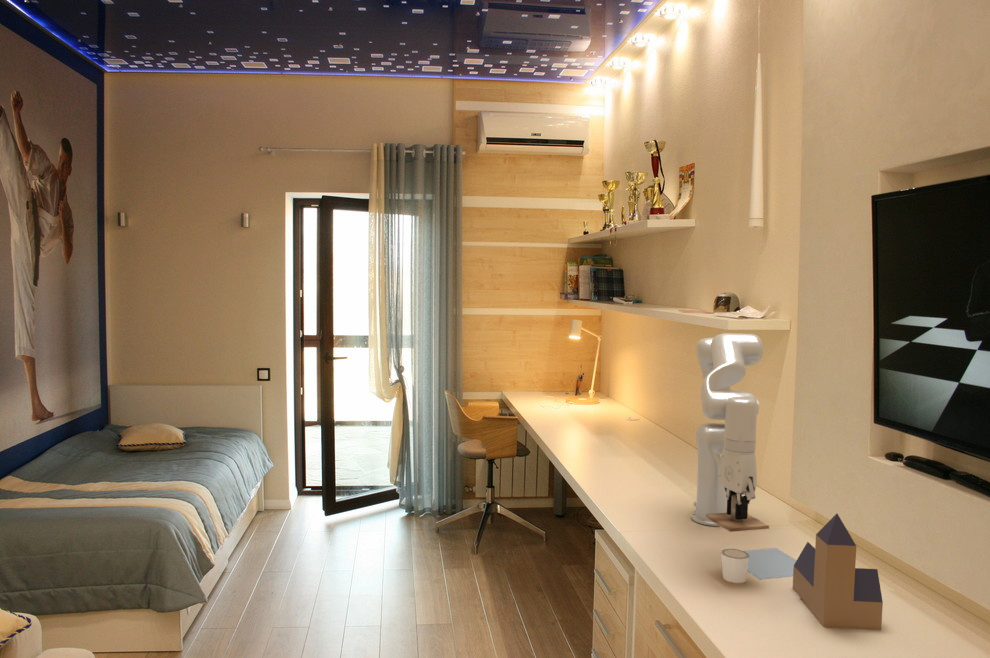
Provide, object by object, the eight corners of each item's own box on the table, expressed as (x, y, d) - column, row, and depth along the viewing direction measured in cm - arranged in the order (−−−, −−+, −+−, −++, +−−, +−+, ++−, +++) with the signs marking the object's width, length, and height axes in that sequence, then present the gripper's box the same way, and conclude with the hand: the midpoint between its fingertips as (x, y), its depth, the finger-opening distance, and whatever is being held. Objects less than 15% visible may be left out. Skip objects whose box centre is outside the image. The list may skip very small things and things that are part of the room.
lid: (705, 517, 179) (706, 491, 179) (743, 514, 182) (744, 489, 182) (729, 531, 169) (731, 504, 168) (768, 528, 171) (770, 502, 171)
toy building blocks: (823, 627, 152) (828, 517, 151) (792, 589, 171) (797, 491, 170) (881, 629, 152) (887, 519, 150) (844, 592, 170) (849, 493, 169)
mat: (720, 554, 193) (720, 552, 193) (775, 549, 198) (775, 547, 198) (759, 580, 176) (759, 579, 176) (819, 574, 180) (819, 573, 180)
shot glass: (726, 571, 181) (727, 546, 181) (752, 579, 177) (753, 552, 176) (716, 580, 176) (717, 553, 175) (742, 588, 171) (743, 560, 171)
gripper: (709, 439, 181) (706, 507, 182) (745, 453, 165) (742, 528, 166) (734, 438, 183) (731, 505, 184) (772, 452, 167) (769, 526, 168)
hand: (736, 515), depth 175 cm, fingers closed on lid, 3 cm apart
